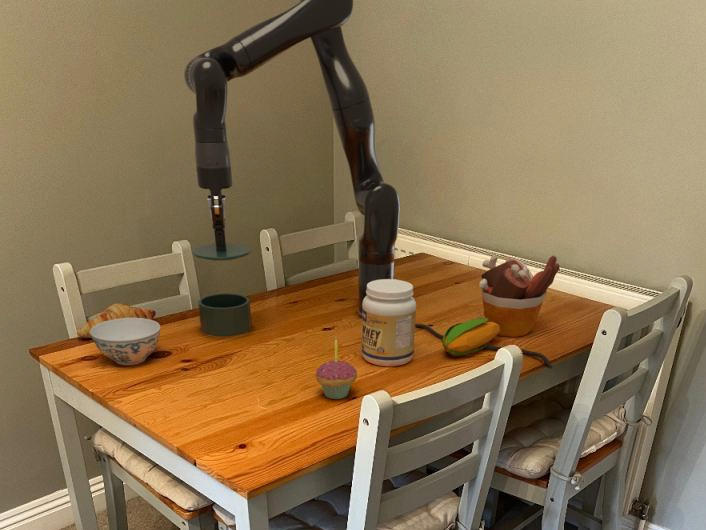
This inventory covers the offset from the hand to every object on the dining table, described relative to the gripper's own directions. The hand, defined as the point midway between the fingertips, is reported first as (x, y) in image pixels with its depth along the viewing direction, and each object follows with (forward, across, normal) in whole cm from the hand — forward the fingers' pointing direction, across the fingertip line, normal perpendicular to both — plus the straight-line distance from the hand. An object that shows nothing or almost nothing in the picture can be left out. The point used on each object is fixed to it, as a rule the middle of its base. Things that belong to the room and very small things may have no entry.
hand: (221, 244), depth 172 cm
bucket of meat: (+22, -4, -71) cm, 75 cm away
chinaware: (+22, -14, +22) cm, 34 cm away
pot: (+22, +4, +1) cm, 22 cm away
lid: (+2, 0, 0) cm, 2 cm away
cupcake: (+22, -39, -22) cm, 50 cm away
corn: (+22, -16, -57) cm, 64 cm away
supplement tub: (+22, -19, -36) cm, 47 cm away
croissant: (+22, +7, +28) cm, 36 cm away
